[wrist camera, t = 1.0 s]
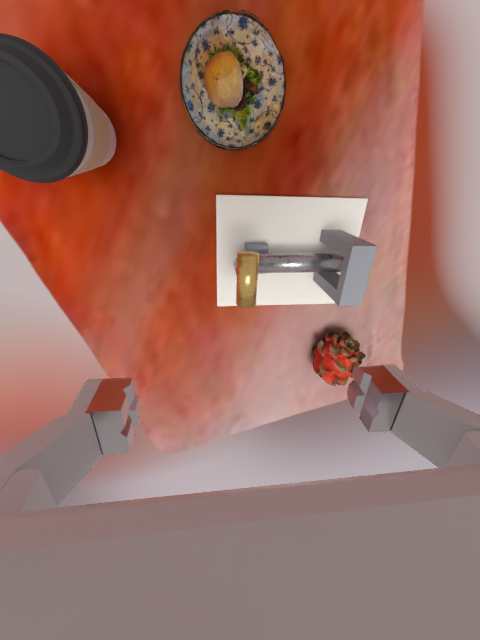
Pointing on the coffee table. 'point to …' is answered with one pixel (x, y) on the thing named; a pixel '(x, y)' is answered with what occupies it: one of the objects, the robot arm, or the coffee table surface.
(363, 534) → the robot arm
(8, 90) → the coffee cup
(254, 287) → the hook
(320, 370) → the dragon fruit
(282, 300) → the board
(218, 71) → the burger
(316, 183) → the coffee table surface
